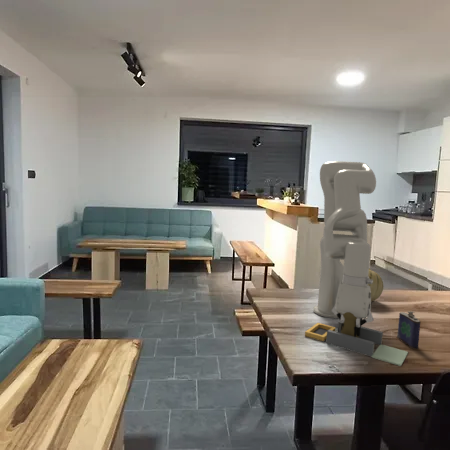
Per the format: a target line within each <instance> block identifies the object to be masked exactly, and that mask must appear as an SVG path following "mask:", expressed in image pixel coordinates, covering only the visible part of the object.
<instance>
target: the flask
mask: <svg viewBox="0 0 450 450" xmlns="http://www.w3.org/2000/svg"><path fill="white" fill-rule="evenodd" d="M414 313H415V311H412V310H411V311H407V312H404V311H401V312H399V317H398V324H397V325H398V326H397V327H398V328H397V334H396V338H397V339H398V338H399V339H400V340H399V339H398V340H399V341H401V340H402V341H403V342H402V341H401V342H402V343H404V342H405V343H404V344H408V345H409V346H408V345H407V346H408V347H410V349H414V350H418V349H419V342H420V332H421V331H420V330H421V321H420V320H419V319H418V318H417V317H416V316H415V314H414Z"/></svg>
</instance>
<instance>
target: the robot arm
mask: <svg viewBox="0 0 450 450" xmlns="http://www.w3.org/2000/svg"><path fill="white" fill-rule="evenodd" d="M319 182H320V187H321V190H322V193H323V196H324V199H323V200H324V201H323V202H324V204H323V206H324V207H323V208H324V210H323V212H324V213H323V215H324V216H323V220H324V221H323V222H324V228H323V234H322V235H323V236H322V237H321V239H320V243H319V248H320V249H319V250H320V251H319V252H320V272H319V273H320V274H319V283H318V284H319V286H318V299H317V305H315V306H314V307H313V312H314V314H316V315H318V316H321V317H324V318H328V319H329V318H331V319H338V320H339V321H340V322H341V323H342V324H341V330H343V329H342V326H343V327H344V320H345V318H344V317H343V314H345V313H346V312H350V313H352V314H353V315H354V316H355V317H357V319H356V326H355V327H354V337H356V333H357V336H360V329H361V326H362V327H363V325H365V324H367V323H372V322H373V321H374V319H375V318H374V317H373V315H372V312H371V310H372V302H371V290H370V286H368V284H372V283H373V280H371V279H369V276H368V273H369V268H370V263H371V262H370V261H371V248H372V247H371V244H370V243H369V242H368V221H367V220H368V219H367V214H366V212H365V210H364V209H362V207H361V196H360V194H362V195H364V194H365V195H367V194H372V193H374V191H375V190H376V187H377V178H376V175H375V172H374V171H373V170H372V169H371V167H369V166H368V164H367V163H365V162H361V161H343V160H333V161H327V162H324V163H322V165H321V167H320V170H319ZM334 232H344V233H346V232H347V233H348V232H349V233H352V234H342V233H334ZM340 260H344V261H343V263H342V262H341V261H340Z"/></svg>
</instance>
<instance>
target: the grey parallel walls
mask: <svg viewBox="0 0 450 450" xmlns="http://www.w3.org/2000/svg"><path fill="white" fill-rule="evenodd" d="M341 324H342V323H341V322H340V320H339V321H338V323H337V331H332V330H328V331H327V339H326V340H325V341H326V342H325V343H326V344H328V345H331V346H334V347H338V348H342V349H345V350H348V351H351V352H355V353H358V354H361V355H365V356H368V357H371V358H372V355H373V354H374V352H375V345H378V346H380V344H382V343H383V335H384V334H383V333H384V332H383V331H380V330H377V329H373V328H369V327H365V326H363V325H362V326H361V329H360V336H358V338H357V337H354V336H350V335H346V334H343V333H341ZM382 345H383V344H382Z"/></svg>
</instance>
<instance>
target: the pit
mask: <svg viewBox="0 0 450 450" xmlns="http://www.w3.org/2000/svg"><path fill="white" fill-rule="evenodd" d="M336 329H337V328H336V326H332V325H328V324H324V323H320V322H316V323H315V324H313V326H311V327H310V328H309V329H307V330H305V331H304V337H307V338H309V339H314V340H316V341H319V342H325V341H326V339H327V331H328V330H332V331H336ZM336 332H337V331H336Z"/></svg>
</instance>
